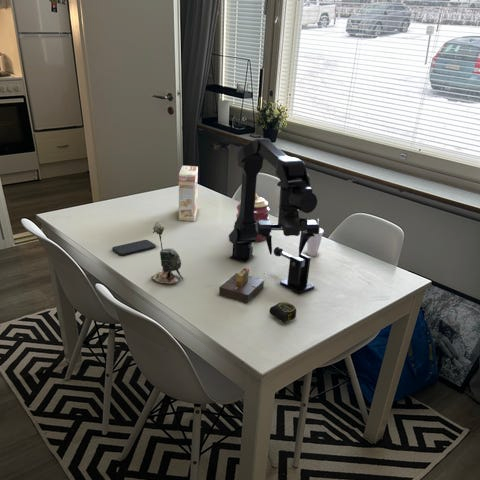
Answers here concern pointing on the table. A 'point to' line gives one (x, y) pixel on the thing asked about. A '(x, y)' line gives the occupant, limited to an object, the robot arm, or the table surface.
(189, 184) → the coffeecake box
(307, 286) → the handle bracket
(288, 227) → the robot arm
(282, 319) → the tape measure
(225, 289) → the plate
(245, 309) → the table surface
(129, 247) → the phone
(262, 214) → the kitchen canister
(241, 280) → the thumb turn
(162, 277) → the dried flower vase
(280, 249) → the door handle
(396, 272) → the table surface
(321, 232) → the smoothie
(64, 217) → the table surface
